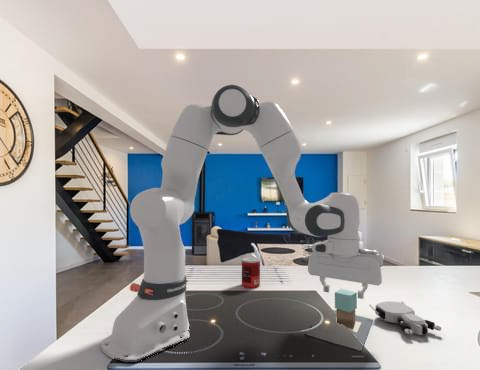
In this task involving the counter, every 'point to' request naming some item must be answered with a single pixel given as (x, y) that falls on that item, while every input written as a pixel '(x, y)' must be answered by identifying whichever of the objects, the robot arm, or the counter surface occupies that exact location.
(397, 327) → the counter surface
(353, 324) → the walnut block
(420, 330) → the robot toy
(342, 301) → the teal block
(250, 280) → the canned food
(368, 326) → the mat
